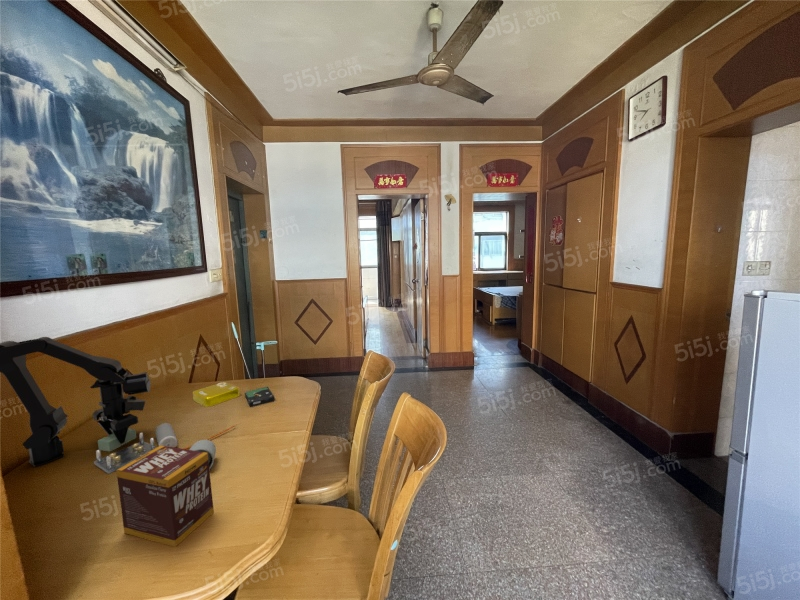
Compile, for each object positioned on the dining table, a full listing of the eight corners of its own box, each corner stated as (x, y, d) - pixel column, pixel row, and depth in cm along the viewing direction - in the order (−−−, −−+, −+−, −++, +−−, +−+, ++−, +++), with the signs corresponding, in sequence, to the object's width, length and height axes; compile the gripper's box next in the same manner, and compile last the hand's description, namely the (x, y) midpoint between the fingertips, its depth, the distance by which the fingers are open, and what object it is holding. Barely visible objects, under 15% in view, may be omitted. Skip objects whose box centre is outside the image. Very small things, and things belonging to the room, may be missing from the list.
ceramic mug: (217, 456, 103) (214, 433, 102) (215, 471, 95) (212, 446, 94) (177, 466, 98) (174, 442, 98) (172, 483, 91) (168, 457, 90)
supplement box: (176, 548, 70) (167, 480, 68) (123, 533, 74) (114, 469, 72) (215, 512, 80) (209, 452, 78) (167, 501, 84) (160, 444, 82)
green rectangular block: (110, 452, 108) (108, 440, 107) (99, 450, 109) (97, 438, 108) (136, 438, 116) (135, 427, 115) (125, 437, 117) (124, 426, 116)
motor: (159, 459, 102) (160, 443, 102) (153, 432, 119) (154, 419, 119) (239, 442, 118) (240, 429, 118) (223, 421, 134) (224, 409, 134)
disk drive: (275, 402, 144) (268, 391, 156) (275, 396, 143) (267, 385, 156) (250, 408, 138) (244, 397, 150) (249, 402, 138) (243, 391, 150)
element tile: (191, 400, 148) (190, 390, 147) (225, 389, 160) (224, 380, 159) (207, 408, 139) (206, 397, 138) (241, 396, 151) (240, 386, 150)
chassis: (108, 473, 96) (106, 459, 95) (94, 464, 100) (92, 450, 100) (158, 451, 107) (156, 438, 106) (143, 443, 112) (142, 431, 111)
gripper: (153, 393, 113) (158, 436, 114) (128, 384, 122) (133, 424, 124) (113, 406, 103) (119, 452, 105) (89, 395, 112) (95, 438, 114)
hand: (118, 440), depth 112 cm, fingers open, 6 cm apart
